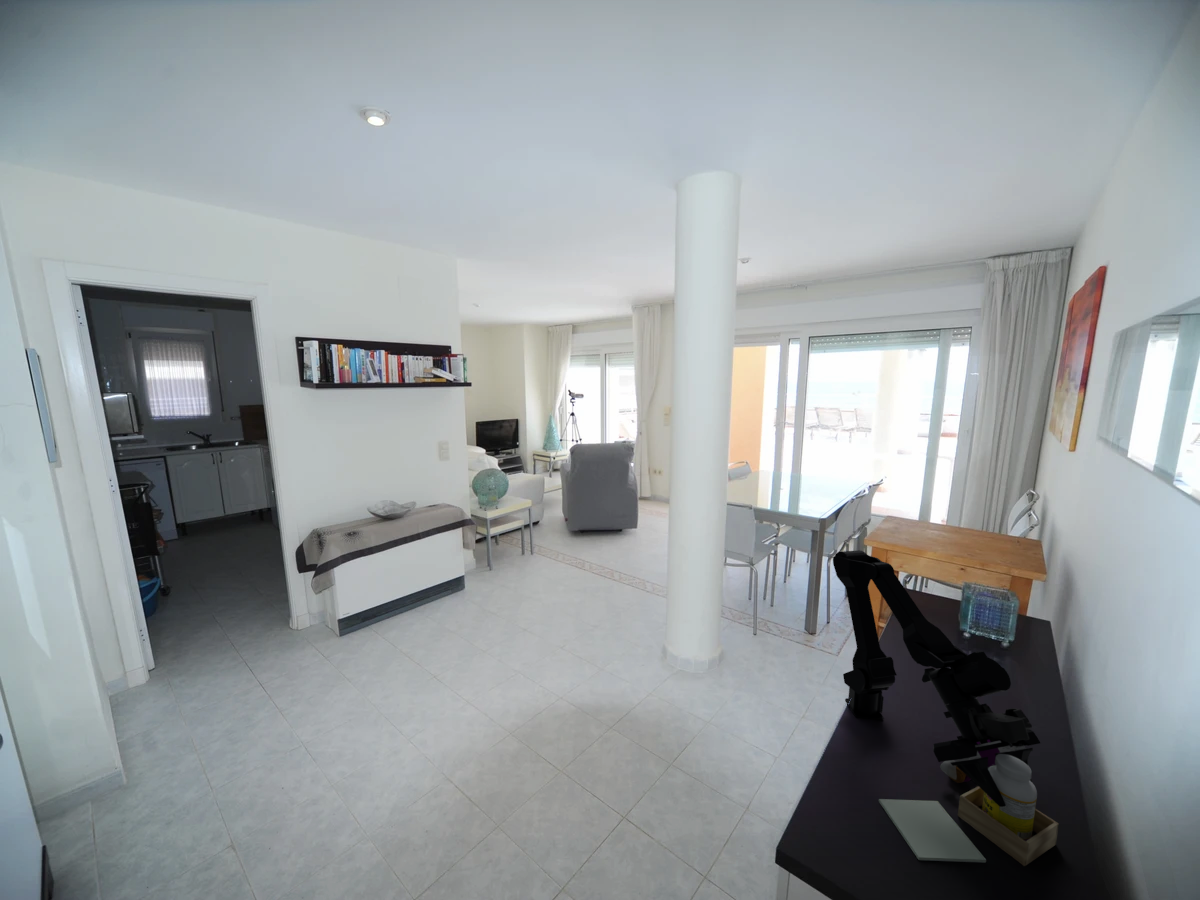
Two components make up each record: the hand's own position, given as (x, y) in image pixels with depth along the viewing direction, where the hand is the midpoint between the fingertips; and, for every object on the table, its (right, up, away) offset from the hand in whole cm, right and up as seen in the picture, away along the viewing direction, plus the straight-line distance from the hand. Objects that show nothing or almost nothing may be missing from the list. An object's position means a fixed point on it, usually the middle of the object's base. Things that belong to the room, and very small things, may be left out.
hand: (1018, 802), depth 78 cm
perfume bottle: (+11, -1, +19) cm, 22 cm away
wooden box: (0, -6, +2) cm, 7 cm away
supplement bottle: (0, -7, +2) cm, 7 cm away
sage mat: (-14, -6, +2) cm, 16 cm away
